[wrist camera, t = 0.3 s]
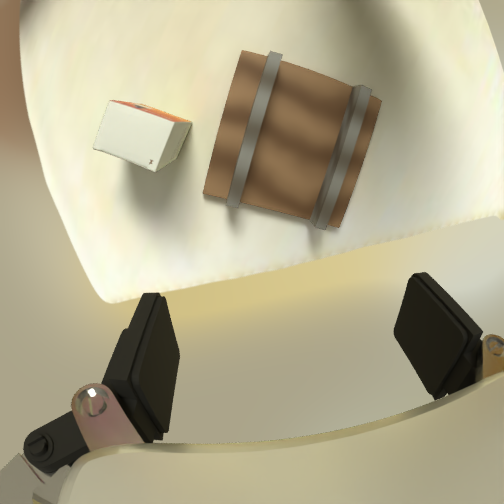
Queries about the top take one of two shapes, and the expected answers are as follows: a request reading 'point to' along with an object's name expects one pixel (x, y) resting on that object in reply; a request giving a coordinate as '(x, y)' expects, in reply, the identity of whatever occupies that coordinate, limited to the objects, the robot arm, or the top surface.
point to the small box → (141, 134)
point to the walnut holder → (291, 140)
